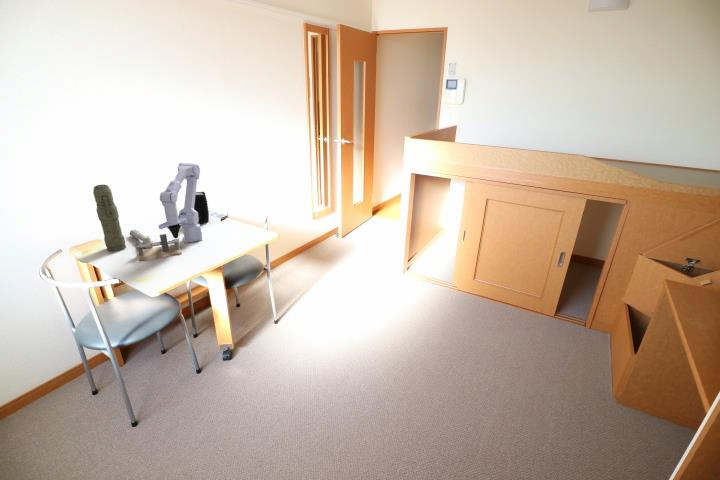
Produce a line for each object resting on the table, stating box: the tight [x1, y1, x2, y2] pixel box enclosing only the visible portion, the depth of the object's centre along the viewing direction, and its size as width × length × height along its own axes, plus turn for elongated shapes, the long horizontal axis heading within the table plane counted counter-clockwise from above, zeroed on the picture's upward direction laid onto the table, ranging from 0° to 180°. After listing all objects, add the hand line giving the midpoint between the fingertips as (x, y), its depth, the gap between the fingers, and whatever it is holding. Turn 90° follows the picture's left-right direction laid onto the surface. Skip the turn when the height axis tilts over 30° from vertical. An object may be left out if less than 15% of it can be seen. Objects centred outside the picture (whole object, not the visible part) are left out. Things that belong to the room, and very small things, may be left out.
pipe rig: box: [135, 238, 183, 262], centre depth 193 cm, size 20×12×7 cm, turn 120°
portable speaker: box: [194, 191, 210, 224], centre depth 234 cm, size 9×9×20 cm
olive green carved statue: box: [93, 184, 127, 253], centre depth 190 cm, size 9×12×35 cm
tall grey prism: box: [159, 233, 169, 252], centre depth 193 cm, size 3×7×7 cm, turn 30°
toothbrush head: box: [129, 229, 154, 249], centre depth 205 cm, size 5×7×25 cm
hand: (175, 237), depth 195 cm, fingers closed
